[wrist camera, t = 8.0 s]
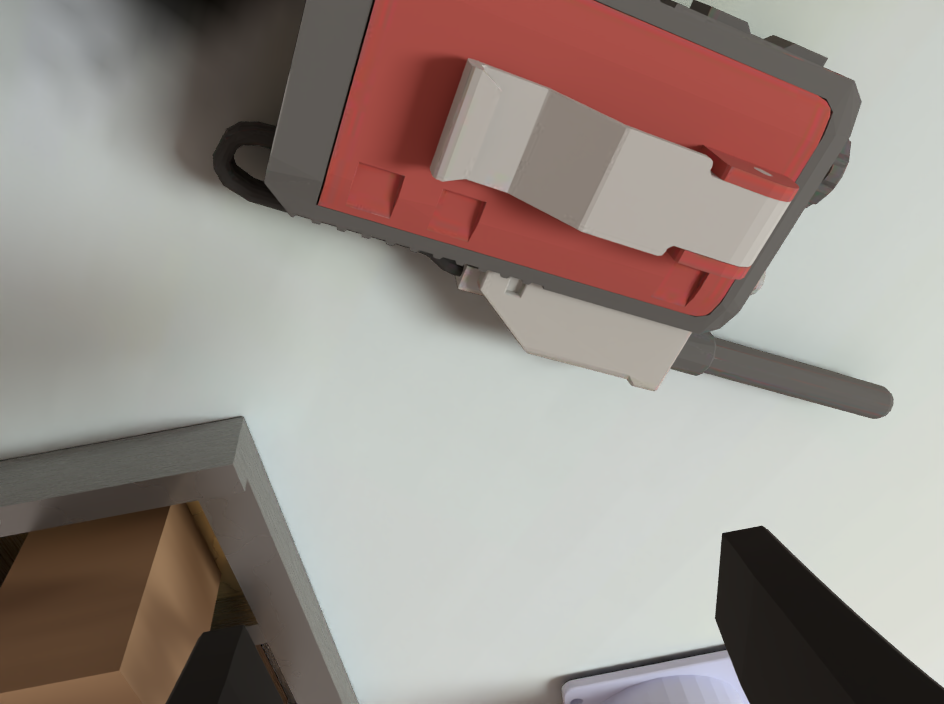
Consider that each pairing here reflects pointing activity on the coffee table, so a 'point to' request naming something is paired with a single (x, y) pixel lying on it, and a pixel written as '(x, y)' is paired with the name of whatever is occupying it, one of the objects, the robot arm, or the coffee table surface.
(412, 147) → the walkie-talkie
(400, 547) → the coffee table surface
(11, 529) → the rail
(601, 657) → the coffee table surface
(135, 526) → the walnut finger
